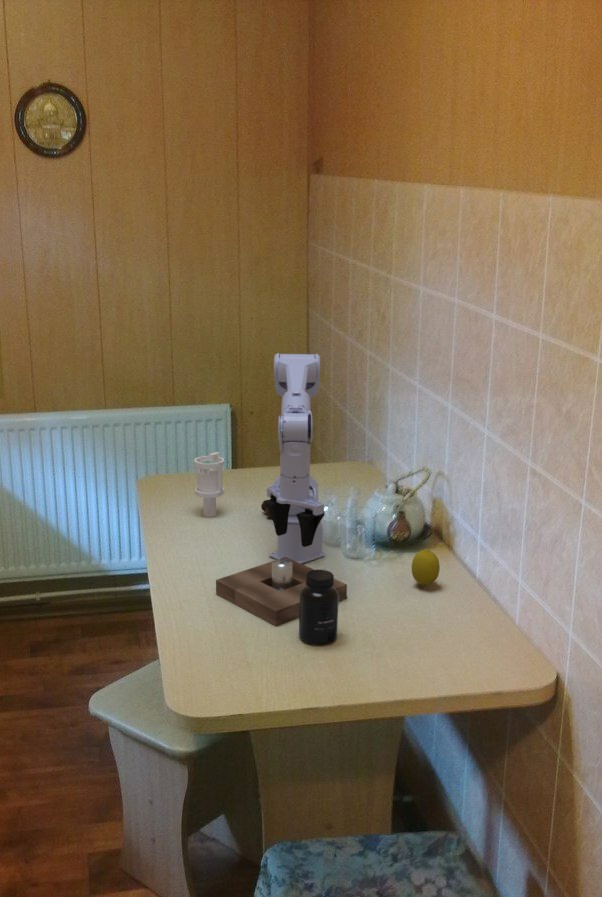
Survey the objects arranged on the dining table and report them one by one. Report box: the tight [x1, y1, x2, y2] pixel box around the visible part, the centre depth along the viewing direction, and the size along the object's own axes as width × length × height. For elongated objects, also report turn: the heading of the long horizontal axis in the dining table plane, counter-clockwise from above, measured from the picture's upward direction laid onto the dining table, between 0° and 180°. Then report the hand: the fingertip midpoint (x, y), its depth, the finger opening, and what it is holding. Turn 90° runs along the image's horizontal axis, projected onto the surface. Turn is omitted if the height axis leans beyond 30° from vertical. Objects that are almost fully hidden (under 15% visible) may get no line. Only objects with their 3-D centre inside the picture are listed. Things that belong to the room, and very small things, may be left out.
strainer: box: [193, 451, 225, 518], centre depth 223 cm, size 7×7×15 cm
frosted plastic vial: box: [271, 559, 292, 591], centre depth 180 cm, size 4×4×7 cm
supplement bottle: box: [298, 569, 340, 646], centre depth 163 cm, size 7×7×12 cm
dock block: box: [215, 557, 348, 627], centre depth 180 cm, size 18×18×3 cm
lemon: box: [411, 548, 440, 587], centre depth 185 cm, size 6×6×8 cm
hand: (294, 539), depth 183 cm, fingers open, 7 cm apart
